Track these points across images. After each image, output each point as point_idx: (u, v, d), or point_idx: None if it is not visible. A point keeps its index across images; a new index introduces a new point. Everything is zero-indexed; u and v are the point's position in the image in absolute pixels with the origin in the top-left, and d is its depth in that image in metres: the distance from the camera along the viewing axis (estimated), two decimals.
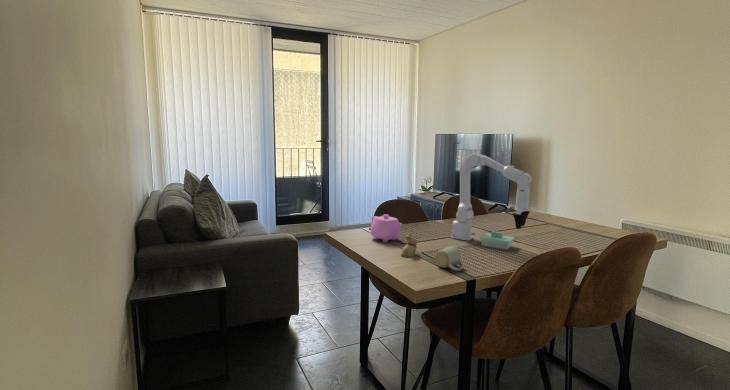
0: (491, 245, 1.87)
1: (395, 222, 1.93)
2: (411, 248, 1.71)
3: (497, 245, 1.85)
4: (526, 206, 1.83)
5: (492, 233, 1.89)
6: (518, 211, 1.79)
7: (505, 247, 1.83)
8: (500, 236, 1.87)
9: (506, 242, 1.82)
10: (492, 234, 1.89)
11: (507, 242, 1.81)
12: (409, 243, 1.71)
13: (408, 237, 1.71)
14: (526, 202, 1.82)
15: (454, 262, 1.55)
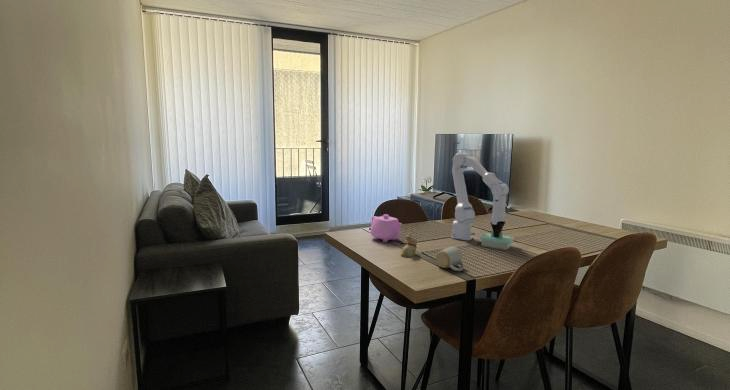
0: (491, 245, 1.87)
1: (395, 222, 1.93)
2: (411, 248, 1.71)
3: (497, 245, 1.85)
4: (502, 216, 1.85)
5: (492, 233, 1.89)
6: (494, 221, 1.81)
7: (505, 247, 1.83)
8: (500, 236, 1.87)
9: (506, 242, 1.82)
10: (492, 234, 1.89)
11: (507, 242, 1.81)
12: (409, 243, 1.71)
13: (408, 237, 1.71)
14: (502, 212, 1.84)
15: (455, 262, 1.55)
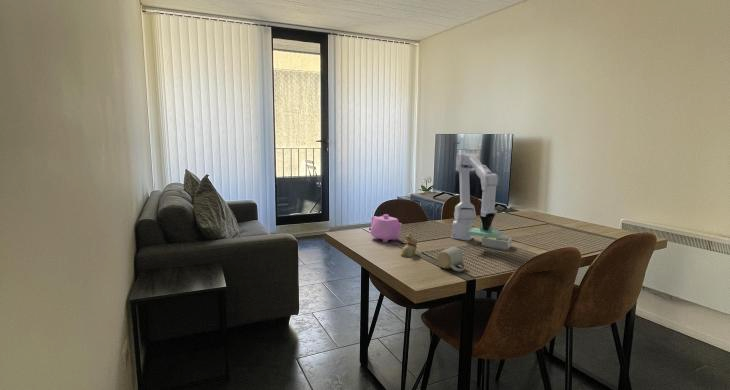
0: (491, 245, 1.87)
1: (395, 222, 1.93)
2: (411, 248, 1.71)
3: (497, 245, 1.85)
4: (492, 208, 1.75)
5: (481, 227, 1.79)
6: (483, 213, 1.72)
7: (505, 247, 1.83)
8: (489, 230, 1.77)
9: (495, 236, 1.72)
10: (481, 228, 1.79)
11: (496, 236, 1.72)
12: (409, 243, 1.71)
13: (408, 237, 1.71)
14: (492, 203, 1.75)
15: (456, 263, 1.54)
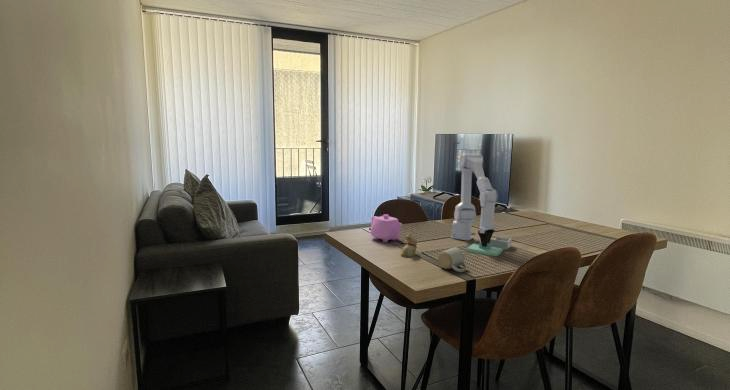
0: (491, 245, 1.87)
1: (395, 222, 1.93)
2: (411, 248, 1.71)
3: (497, 245, 1.85)
4: (490, 224, 1.76)
5: (480, 244, 1.80)
6: (481, 230, 1.73)
7: (505, 247, 1.83)
8: (488, 247, 1.78)
9: (494, 254, 1.73)
10: (480, 245, 1.80)
11: (495, 254, 1.73)
12: (409, 243, 1.71)
13: (408, 237, 1.71)
14: (490, 220, 1.76)
15: (457, 263, 1.54)
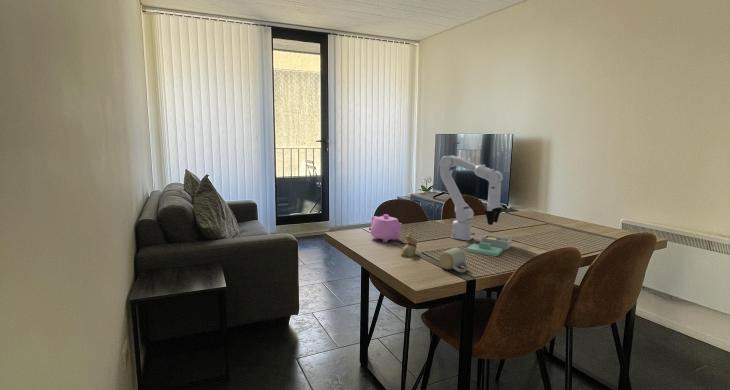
0: (491, 245, 1.87)
1: (395, 222, 1.93)
2: (411, 248, 1.71)
3: (497, 245, 1.85)
4: (497, 203, 1.89)
5: (480, 244, 1.80)
6: (489, 208, 1.86)
7: (505, 247, 1.83)
8: (488, 247, 1.78)
9: (494, 254, 1.73)
10: (480, 245, 1.80)
11: (495, 254, 1.73)
12: (409, 243, 1.71)
13: (408, 237, 1.71)
14: (497, 199, 1.89)
15: (458, 264, 1.53)
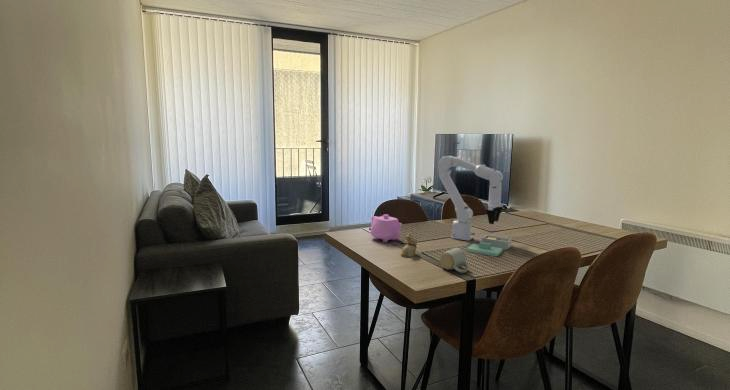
0: (491, 245, 1.87)
1: (395, 222, 1.93)
2: (411, 248, 1.71)
3: (497, 245, 1.85)
4: (498, 202, 1.91)
5: (480, 244, 1.80)
6: (490, 207, 1.88)
7: (505, 247, 1.83)
8: (488, 247, 1.78)
9: (494, 254, 1.73)
10: (480, 245, 1.80)
11: (495, 254, 1.73)
12: (409, 243, 1.71)
13: (408, 237, 1.71)
14: (498, 198, 1.90)
15: (459, 264, 1.53)
